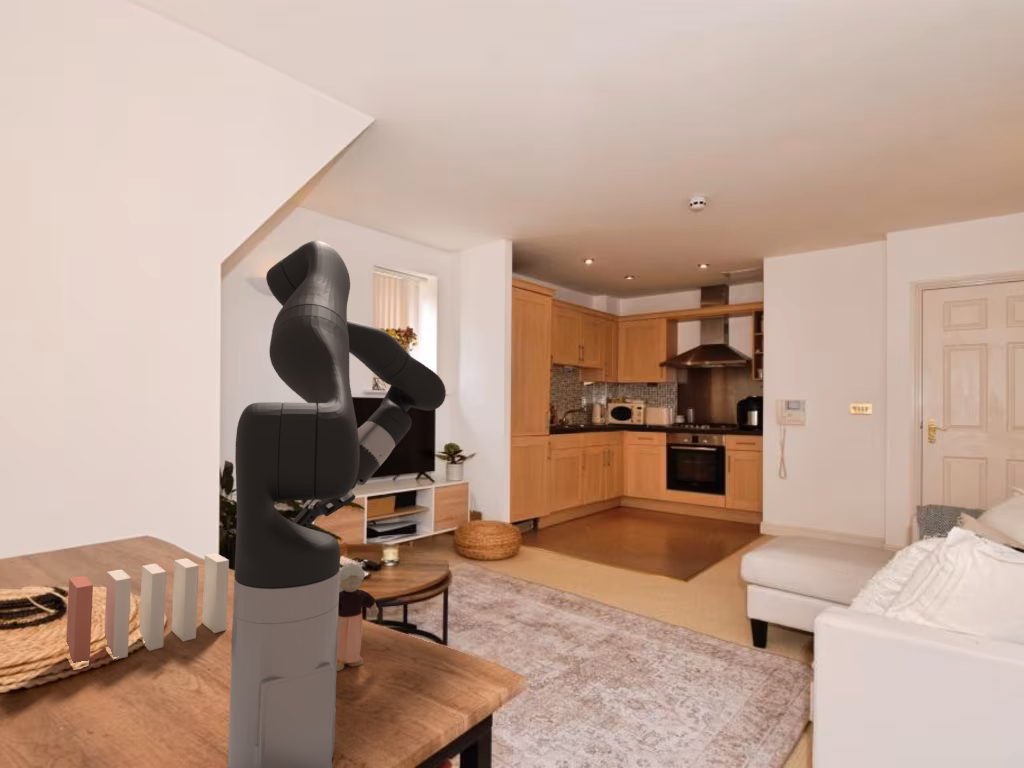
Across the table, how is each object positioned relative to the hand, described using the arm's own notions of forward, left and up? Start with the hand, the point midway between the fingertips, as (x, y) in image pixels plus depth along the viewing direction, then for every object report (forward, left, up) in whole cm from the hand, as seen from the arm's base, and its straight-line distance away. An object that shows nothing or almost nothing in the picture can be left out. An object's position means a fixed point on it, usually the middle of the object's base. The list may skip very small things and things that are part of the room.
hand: (294, 530), depth 91 cm
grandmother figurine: (-25, 0, -12) cm, 28 cm away
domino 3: (-4, +20, -12) cm, 23 cm away
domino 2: (-5, +24, -12) cm, 27 cm away
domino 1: (-6, +28, -12) cm, 31 cm away
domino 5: (-3, +12, -12) cm, 17 cm away
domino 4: (-4, +16, -12) cm, 20 cm away
